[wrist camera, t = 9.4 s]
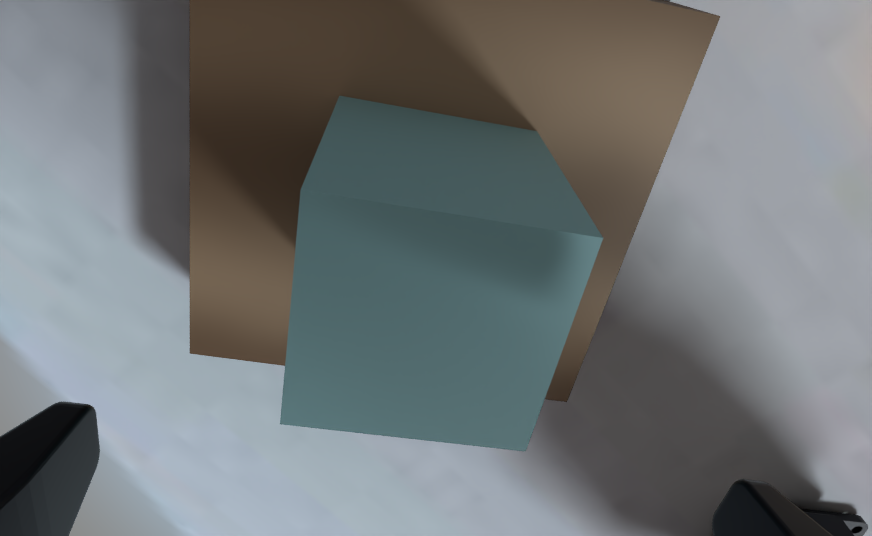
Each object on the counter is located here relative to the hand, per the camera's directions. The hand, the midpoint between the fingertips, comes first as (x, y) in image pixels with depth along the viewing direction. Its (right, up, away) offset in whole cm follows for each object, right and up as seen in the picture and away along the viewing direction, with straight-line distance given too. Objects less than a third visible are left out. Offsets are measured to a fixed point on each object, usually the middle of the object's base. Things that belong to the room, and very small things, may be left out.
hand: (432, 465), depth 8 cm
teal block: (0, +4, +8) cm, 9 cm away
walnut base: (0, +6, +10) cm, 12 cm away
